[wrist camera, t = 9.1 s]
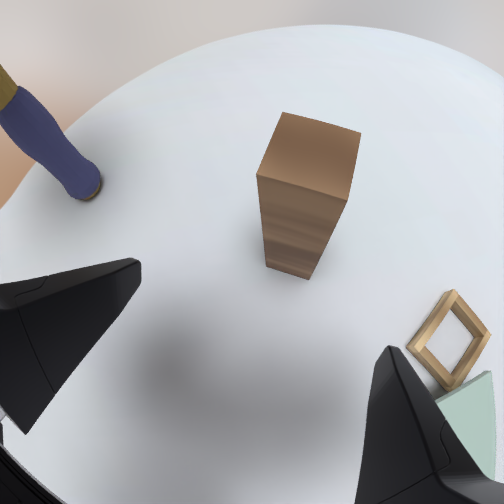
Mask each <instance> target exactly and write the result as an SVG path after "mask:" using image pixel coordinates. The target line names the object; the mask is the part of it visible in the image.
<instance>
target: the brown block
mask: <svg viewBox="0 0 504 504" xmlns="http://www.w3.org/2000/svg"><path fill="white" fill-rule="evenodd" d="M360 137H361V133H359V132H356V131H353V130H350V129H346V128H343V127H340V126H336V125H333V124H329V123H325V122H322V121H318V120H314V119H310V118H306V117H302V116H298V115H294V114H289V113H285V112H282V115H281V117H280V119H279V121H278V124H277V126H276V128H275V131H274V133H273V135H272V138H271V140H270V142H269V145H268V147H267V150H266V152H265V154H264V157H263V159H262V161H261V164H260V166H259V169H258V171H257V173H256V177H257V186H258V195H259V204H260V213H261V222H262V231H263V241H264V250H265V260H266V267H269V268H272V269H276V270H279V271H282V272H285V273H288V274H291V275H294V276H298V277H301V278H304V279H307V280H309V279H310V277H311V275H312V273H313V271H314V269H315V267H316V265H317V263H318V261H319V259H320V257H321V255H322V253H323V251H324V249H325V247H326V245H327V243H328V241H329V239H330V237H331V235H332V233H333V231H334V229H335V227H336V224H337V222H338V220H339V218H340V216H341V214H342V212H343V209H344V207H345V205H346V203H347V201H348V197H349V192H350V188H351V183H352V178H353V173H354V169H355V164H356V159H357V153H358V148H359V143H360Z"/></svg>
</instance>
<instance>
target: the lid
mask: <svg viewBox="0 0 504 504" xmlns="http://www.w3.org/2000/svg"><path fill="white" fill-rule="evenodd" d="M435 402H436V404H437V405H438V407H439V408H440V410H441V411H442V413H443V415H444V416H445V418H446V419H445V420H447V421H448V422H449V424H450V426H451V427H452V429H453V430H454V432H455V434H456V435H457V437H458V438H459V440H460V441H461V443H462V444H463V445H464V447H465V448H466V450H467V451H468V452H469V454H470V455H471V457H472V458H473V459H474V461H475V462H476V464H477V465H478V467H479V468H480V469H481V471H482V472H483V473H484V474H485V475H486V476H487V477H488V478H490V479H491V480H493V481H494V478H495V464H496V416H495V401H494V390H493V381H492V373H491V371H484V372H482V373H481V374H479V375H478V376H476V377H475V378H473V379H471V380H470V381H468V382H467V383H465V384H463V385H462V386H460V387H458V388H456V389H455V390H453V391H451V392H449V393H448V394H446V395H444V396H442V397H440V398H438V399H436V400H435Z"/></svg>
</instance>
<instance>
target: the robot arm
mask: <svg viewBox="0 0 504 504" xmlns="http://www.w3.org/2000/svg"><path fill="white" fill-rule="evenodd" d="M140 284H141V262H140V261H139V260H136V259H134V258H126V259H121V260H116V261H111V262H107V263H102V264H97V265H93V266H88V267H84V268H79V269H74V270H70V271H65V272H61V273H56V274H52V275H49V276H43V277H38V278H34V279H29V280H23V281H17V282H11V283H5V284H0V504H67V503H65V502H64V501H63V500H61V499H60V498H59V497H58V496H56V495H55V494H54V493H53V492H51V491H50V490H49V489H48V488H46V487H45V486H44V485H43V484H42V483H41V482H40V481H38V480H37V479H36V478H35V477H34V476H33V475H32V474H31V473H30V472H28V471H27V470H26V469H25V468H24V467H23V466H22V465H21V464H20V463H19V462H18V461H17V460H16V459H15V458H14V457H13V456H12V455H11V454H10V453H9V452H8V451H7V449H6V448H5V447H4V446H3V425H2V424H1V421H2V420H3V419H4V417H5V416H7V417H8V418H9V419H10V420H11V421H12V422H13V423H14V424H15V425H16V426H17V427H18V428H19V429H20V430H21V431H22V432H23V433H24V434H25V435H26V434H27V433H28V432H29V431H30V429H31V428H32V426H33V425H34V424H35V422H36V421H37V419H38V418H39V417H40V415H41V414H42V412H43V411H44V410H45V408H46V407H47V406H48V404H49V403H50V401H51V400H52V399H53V397H54V396H55V394H56V393H57V392H58V391H59V389H60V388H61V387H62V385H63V384H64V383H65V381H66V380H67V379H68V378H69V376H70V375H71V374H72V372H73V371H74V370H75V369H76V367H77V366H78V365H79V364H80V362H81V361H82V360H83V358H84V357H85V356H86V355H87V353H88V352H89V351H90V350H91V349H92V347H93V346H94V345H95V344H96V342H97V341H98V340H99V339H100V338H101V336H102V335H103V334H104V333H105V332H106V330H107V329H108V328H109V327H110V326H111V324H112V323H113V322H114V321H115V320H116V318H117V317H118V316H119V315H120V313H121V312H122V311H123V309H124V308H125V306H126V305H127V303H128V302H129V300H130V299H131V297H132V296H133V294H134V293H135V292H136V290H137V289H138V287H139V286H140ZM445 419H446V418H445V416H444V415H443V413H442V411H441V410H440V408H439V407H438V405H437V404H436V402H435V400H434V399H433V397H432V396H431V394H430V393H429V391H428V390H427V388H426V387H425V385H424V384H423V382H422V381H421V379H420V378H419V376H418V375H417V373H416V372H415V370H414V369H413V367H412V366H411V365H410V363H409V362H408V360H407V359H406V357H405V356H404V355H403V353H402V352H401V350H400V349H399V348H398V347H394V346H391V345H388V346H387V347H386V348H385V349H384V351H383V352H382V354H381V355H380V357H379V358H378V360H377V361H376V364H375V367H374V373H373V379H372V385H371V390H370V396H369V401H368V409H367V419H366V430H365V439H364V447H363V455H362V462H361V469H360V475H359V481H358V487H357V492H356V498H355V503H354V504H504V484H503V483H500V482H496V481H493V480H491V479H490V478H488V477H487V476H486V475H485V474H484V473H483V472H482V471H481V469H480V468H479V467H478V465H477V464H476V462H475V461H474V459H473V458H472V457H471V455H470V454H469V452H468V451H467V450H466V448H465V447H464V445H463V444H462V443H461V441H460V440H459V438H458V437H457V435H456V434H455V432H454V430H453V429H452V427H451V426H450V424H449V422H448V421H447V420H445Z"/></svg>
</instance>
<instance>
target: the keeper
mask: <svg viewBox="0 0 504 504" xmlns="http://www.w3.org/2000/svg"><path fill="white" fill-rule="evenodd" d="M449 309H451V310H452V311H453V312H454V313H455V315H456V316H457V317H458V318H459V319H460V320H461V322H462V323H463V324H464V325H465V326H466V328H467V329H468V330H469V331H470V332H471V334H472V335H473V336H474V337H475V338H474V339H473V341H472V343H471V344H470V346H469V348H468V349H467V351H466V352H465V354H464V355H463V357H462V358H461V360H460V362H459V363H458V365H457V366H456V367H455V369H454V370H453V372H452V373H451V374H450V373H449V372H448V371H447V370H446V369H445V368H444V367H443V365H442V364H441V363H440V362H439V361H438V360H437V359H436V358H435V357H434V355H433V354H432V353H431V352H430V351H429V350H428V349H427V348H426V347H425V346H424V345H425V344H426V343H427V341H428V340H429V339H430V337H431V336H432V334H433V333H434V332H435V330H436V329H437V327H438V326H439V324H440V323H441V321H442V320H443V318H444V317H445V315H446V314H447V312H448V311H449ZM490 336H491V334H490V332H489V331H488V330H487V328H486V327H485V326H484V324H483V323H482V322H481V321H480V319H479V318H478V317H477V316H476V314H475V313H474V312H473V311H472V310H471V308H470V307H469V306H468V305H467V303H466V302H465V301H464V300H463V299H462V298H461V296H460V295H459V294H458V293H457V292H456V291H455V289H452V290H450V291H447V292H445V293H444V295H443V296H442V298H441V299H440V301H439V302H438V304H437V305H436V307H435V308H434V310H433V311H432V313H431V314H430V315H429V317H428V318H427V320H426V321H425V322H424V324H423V325H422V327H421V328H420V329H419V331H418V332H417V333H416V335H415V336H414V337H413V338H412V340H411V341H410V342H409V344H408V345H407V346H406V348H407V349H408V350H409V351H410V352H411V353H412V354H413V355H414V356H415V357H416V358H417V360H418V361H419V362H420V363H421V364H422V365H423V366H424V367H425V368H426V369H427V370H428V371H429V372H430V373H431V375H432V376H433V377H434V378H435V379H436V380H437V381H438V382H439V383H440V384H441V385H442V387H443V388H444V389H445V390H446V391H450V392H451V391H453V390H455V389H456V388H458V387H460V385H461V384H462V382H463V381H464V379H465V378H466V376H467V375H468V373H469V372H470V370H471V369H472V367H473V365H474V364H475V362H476V361H477V359H478V357H479V356H480V354H481V352H482V351H483V349H484V347H485V345H486V344H487V342H488V340H489V338H490Z"/></svg>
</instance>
